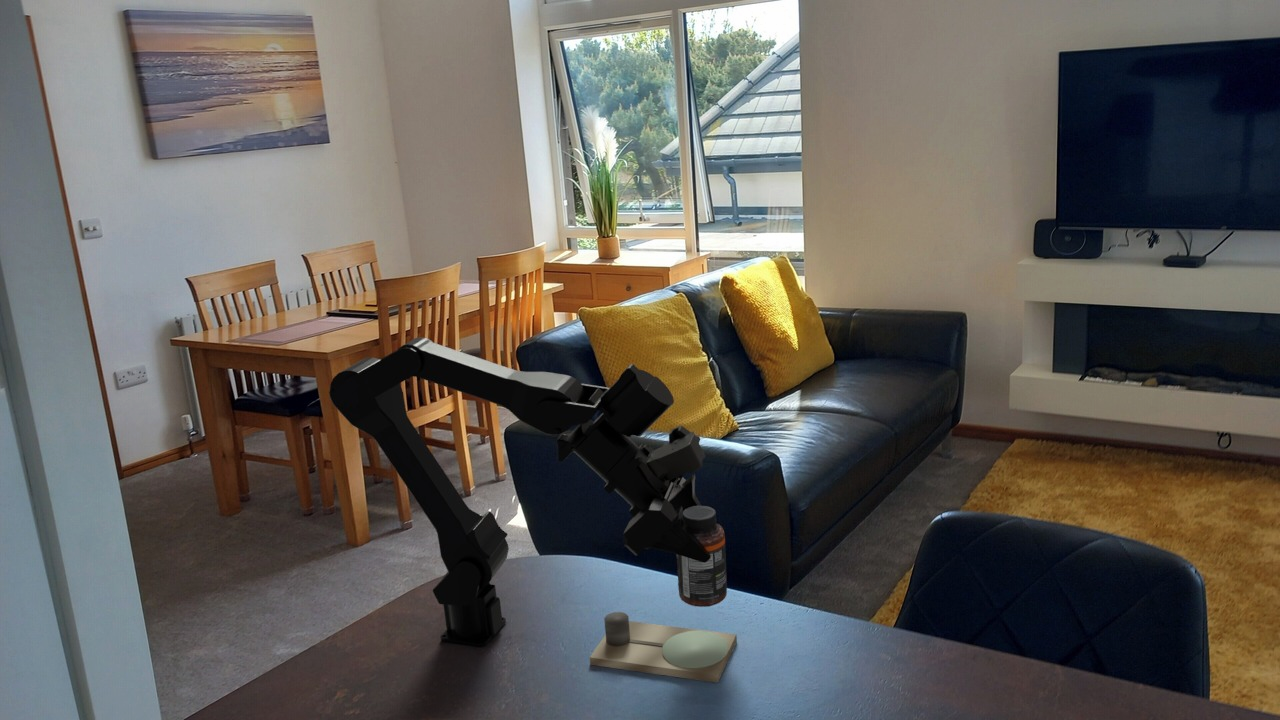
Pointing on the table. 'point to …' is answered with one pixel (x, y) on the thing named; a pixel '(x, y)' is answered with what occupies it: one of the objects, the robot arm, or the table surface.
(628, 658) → the board
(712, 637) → the pad
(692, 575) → the supplement bottle
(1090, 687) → the table surface
